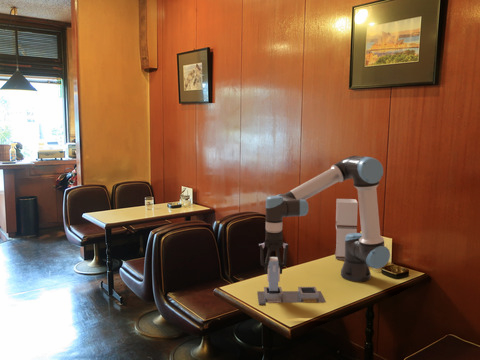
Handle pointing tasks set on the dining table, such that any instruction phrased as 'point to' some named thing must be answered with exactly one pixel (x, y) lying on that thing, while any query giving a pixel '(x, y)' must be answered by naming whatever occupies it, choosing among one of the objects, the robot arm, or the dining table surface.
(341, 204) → the white rectangular tower
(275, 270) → the plug
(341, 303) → the dining table surface
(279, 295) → the panel
